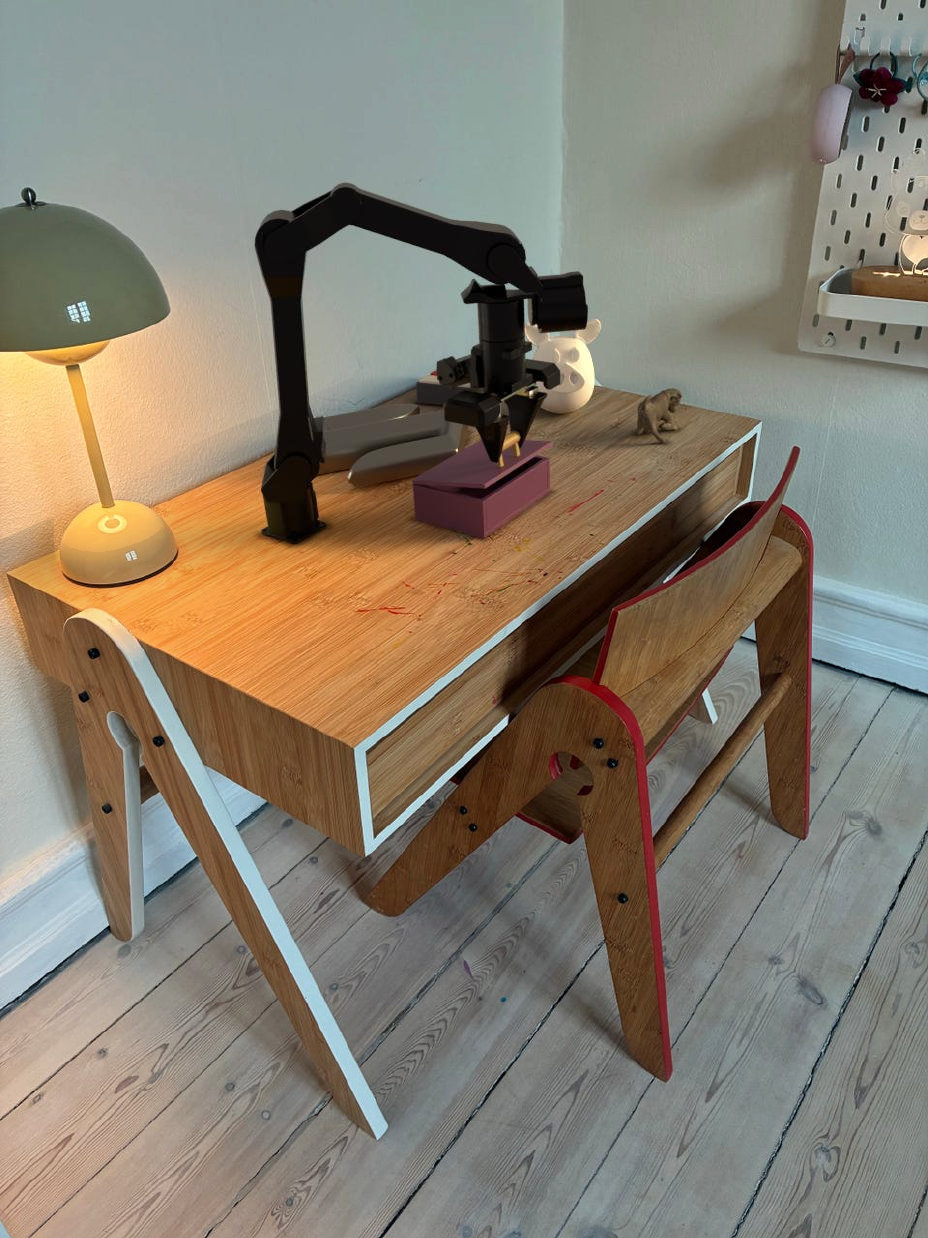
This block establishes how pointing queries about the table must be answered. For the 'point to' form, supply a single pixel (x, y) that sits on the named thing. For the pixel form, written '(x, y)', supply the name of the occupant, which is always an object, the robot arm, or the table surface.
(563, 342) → the piggy bank
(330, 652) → the table surface
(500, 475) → the file box lid
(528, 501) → the maroon open box
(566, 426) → the table surface
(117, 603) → the table surface
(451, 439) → the emblem
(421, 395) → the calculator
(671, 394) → the brown monkey figurine
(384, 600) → the table surface
